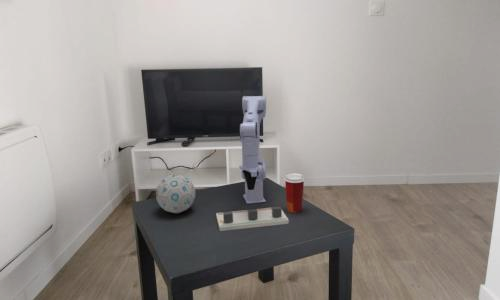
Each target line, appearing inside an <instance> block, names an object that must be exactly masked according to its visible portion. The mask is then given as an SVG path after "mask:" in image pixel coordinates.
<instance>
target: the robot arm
mask: <svg viewBox="0 0 500 300" xmlns="http://www.w3.org/2000/svg"><path fill="white" fill-rule="evenodd" d="M241 99H242V101H241V106H242V107H241V108H242V114H243V120H242V123H240V124H239V134H240V143H241V155H242V157H241V158H242V161H241V162H242V163H241V165H239V166H238V167H239V169H240V170H241V178H242V180H244V192H245V193H244V194H242V197H243V198H244V200H245V203H246V204H258V203H266V201H267V200H266V199H265V198H264V187H263V186H264V180H265V179H266V178H267V177H266V175H267V165H266V161H265V160H266V159H264V158H262V157H261V156H260V138H261V137H260V136H261V135H260V131H261V129H260V128H261V127H260V126H261V122H262V119H264V118H266V114H267V97H266V96H265V95H258V96H257V95H256V96H255V95H250V96H249V95H248V96H247V95H243V96H242V98H241Z"/></svg>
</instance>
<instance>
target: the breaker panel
mask: <svg viewBox="0 0 500 300" xmlns="http://www.w3.org/2000/svg"><path fill="white" fill-rule="evenodd" d="M256 209H257V216H258V219H251V220H249V219H248V210H249V209H246V210H244V209H243V210H236V211H233V210H232V211H231V212H232V213H233V222H226V223H224V220H223V213H224V212H216V213H215V214H216V215H215V216H216V217H215V218H216V222H217V225H218V229H219V232H226V231H234V230H235V231H236V230H243V229H252V228H253V229H254V228H263V227H271V226H279V225H281V226H282V225H289V223H290V221H289V218H288V217H287V215H286V213H285V212H284V211H283V210H282V216H279V217H273V216H272V207H265V208H256Z"/></svg>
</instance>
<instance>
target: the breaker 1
mask: <svg viewBox="0 0 500 300" xmlns="http://www.w3.org/2000/svg"><path fill="white" fill-rule="evenodd" d="M232 212H233V211H224V212H222V213H223V220H224V223H226V222H233V213H232Z"/></svg>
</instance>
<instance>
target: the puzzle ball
mask: <svg viewBox="0 0 500 300" xmlns="http://www.w3.org/2000/svg"><path fill="white" fill-rule="evenodd" d="M155 196H156V201H157V204H158V206H159V207H160V208H161V209H163V210H164V211H166V212H168V213H173V214H180V213H183V212H185V211H186V210H189V209H190V208H191V207H192V205H193V204H194V201H196V199H195V198H196V189H195V186H194V184H193V182H192V181H191V179H189V178H188V177H186V176H184V175H181V174H175V173H174V174H171V175H167V176H165V177H164V178H162V180H161V181H160V182H159V183H158V185H157V187H156V191H155Z"/></svg>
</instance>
